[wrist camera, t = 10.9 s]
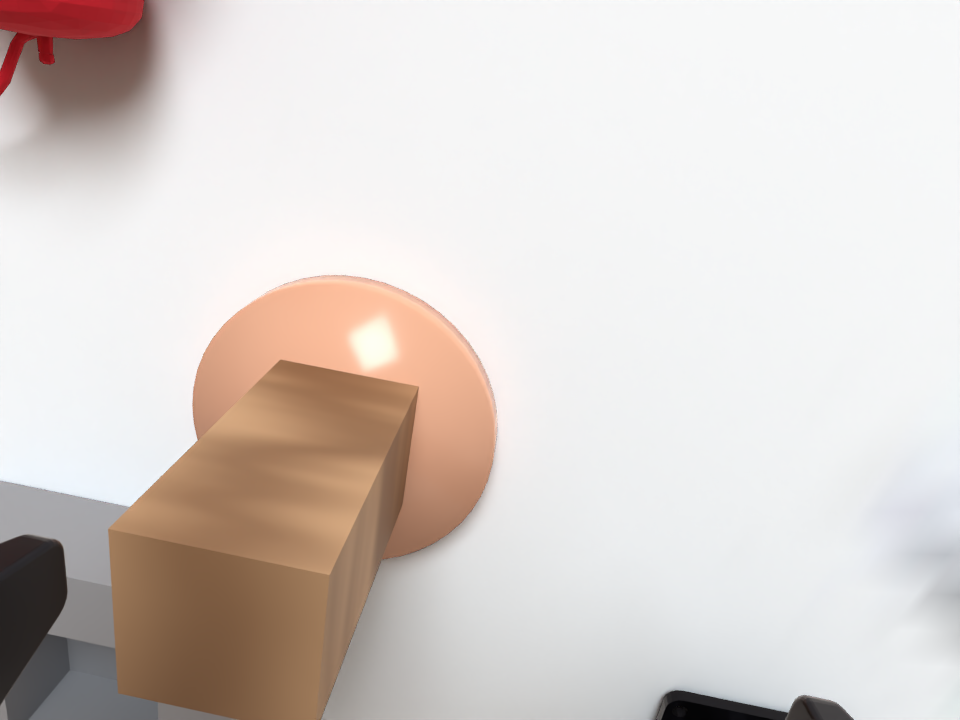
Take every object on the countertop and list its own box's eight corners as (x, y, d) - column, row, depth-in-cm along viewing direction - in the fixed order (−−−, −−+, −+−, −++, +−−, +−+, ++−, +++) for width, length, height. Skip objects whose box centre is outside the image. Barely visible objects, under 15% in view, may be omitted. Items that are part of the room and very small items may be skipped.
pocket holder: (280, 538, 23) (233, 612, 20) (268, 745, 27) (228, 835, 24) (-4, 479, 24) (-95, 543, 20) (25, 692, 27) (-47, 773, 24)
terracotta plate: (521, 307, 19) (519, 318, 18) (472, 564, 23) (468, 585, 22) (209, 248, 20) (191, 257, 19) (208, 511, 23) (193, 528, 22)
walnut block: (419, 386, 19) (329, 574, 12) (402, 504, 21) (314, 736, 13) (280, 359, 19) (107, 529, 12) (274, 478, 21) (118, 693, 14)
